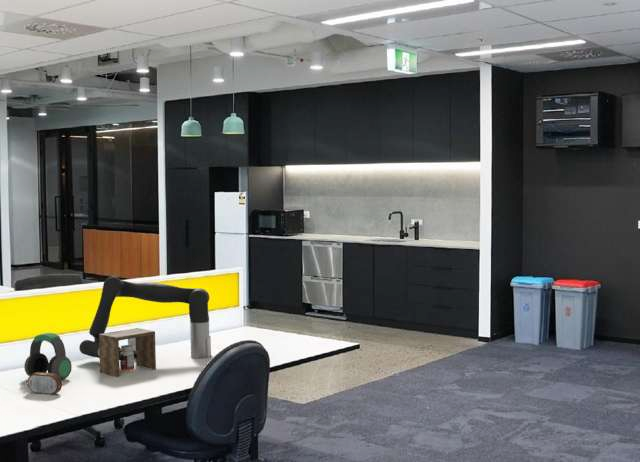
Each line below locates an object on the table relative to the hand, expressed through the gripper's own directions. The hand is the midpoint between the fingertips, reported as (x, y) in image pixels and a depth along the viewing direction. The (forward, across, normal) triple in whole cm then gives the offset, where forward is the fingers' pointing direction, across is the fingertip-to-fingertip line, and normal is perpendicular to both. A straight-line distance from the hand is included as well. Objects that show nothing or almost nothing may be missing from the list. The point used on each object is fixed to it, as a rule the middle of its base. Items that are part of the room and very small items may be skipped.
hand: (130, 357), depth 362 cm
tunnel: (-2, 0, +7) cm, 7 cm away
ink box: (-27, +22, +7) cm, 36 cm away
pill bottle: (-2, 0, +7) cm, 7 cm away
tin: (+7, -46, +7) cm, 47 cm away
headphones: (-16, -32, +7) cm, 36 cm away
